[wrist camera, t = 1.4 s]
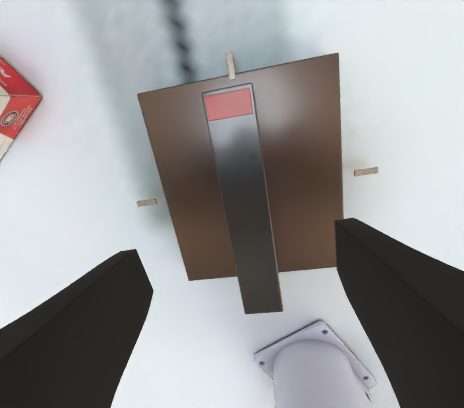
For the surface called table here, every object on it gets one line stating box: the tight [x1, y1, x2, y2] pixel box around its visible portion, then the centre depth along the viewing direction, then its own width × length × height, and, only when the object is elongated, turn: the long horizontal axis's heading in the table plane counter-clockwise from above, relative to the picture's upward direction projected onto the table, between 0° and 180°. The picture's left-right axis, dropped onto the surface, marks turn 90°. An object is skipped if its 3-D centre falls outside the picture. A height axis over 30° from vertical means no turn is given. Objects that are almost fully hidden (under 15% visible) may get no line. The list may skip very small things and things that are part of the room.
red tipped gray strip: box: [201, 83, 283, 314], centre depth 15 cm, size 12×2×5 cm, turn 10°
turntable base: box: [137, 52, 378, 281], centre depth 18 cm, size 16×16×2 cm
